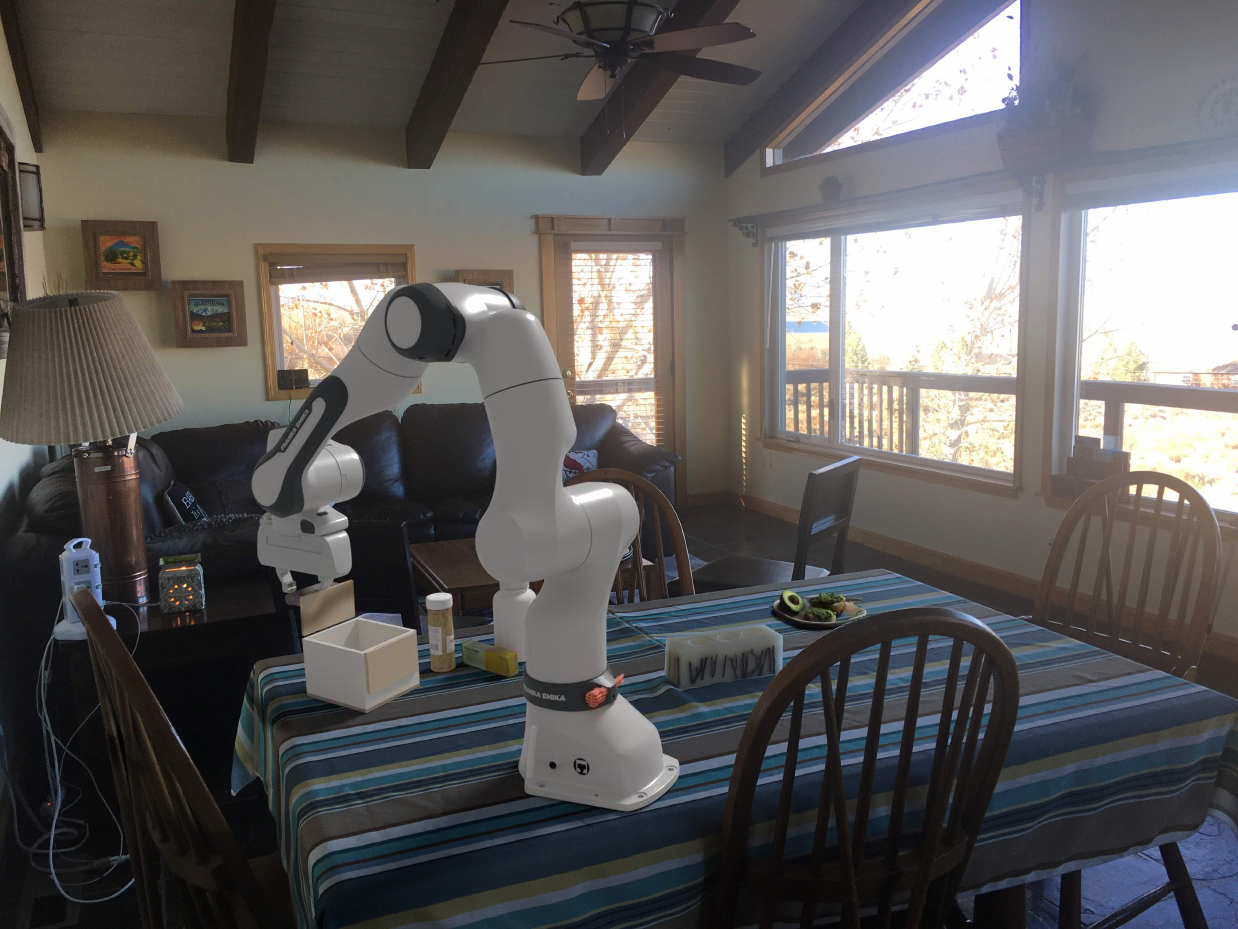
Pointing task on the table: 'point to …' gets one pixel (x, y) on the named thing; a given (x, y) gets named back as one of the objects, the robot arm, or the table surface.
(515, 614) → the pill bottle
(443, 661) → the sprinkles bottle
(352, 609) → the flap
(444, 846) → the table surface
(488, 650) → the medication box
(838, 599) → the salad plate
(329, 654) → the carton
